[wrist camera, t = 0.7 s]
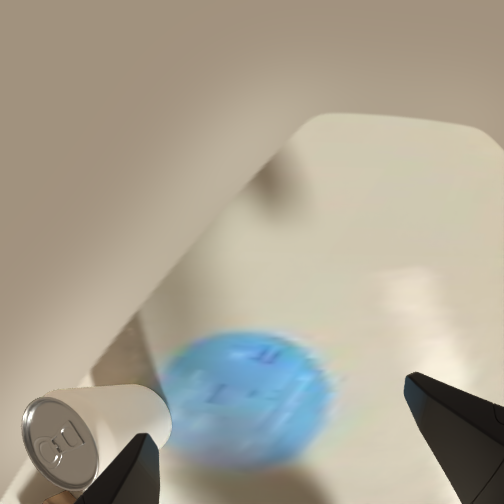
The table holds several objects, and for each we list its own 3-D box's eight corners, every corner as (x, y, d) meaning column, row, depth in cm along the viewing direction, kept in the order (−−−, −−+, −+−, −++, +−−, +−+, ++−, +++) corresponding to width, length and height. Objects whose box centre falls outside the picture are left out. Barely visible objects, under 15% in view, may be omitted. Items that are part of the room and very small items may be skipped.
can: (94, 406, 23) (2, 417, 12) (142, 369, 24) (58, 367, 13) (136, 463, 21) (60, 510, 10) (188, 429, 22) (129, 474, 11)
